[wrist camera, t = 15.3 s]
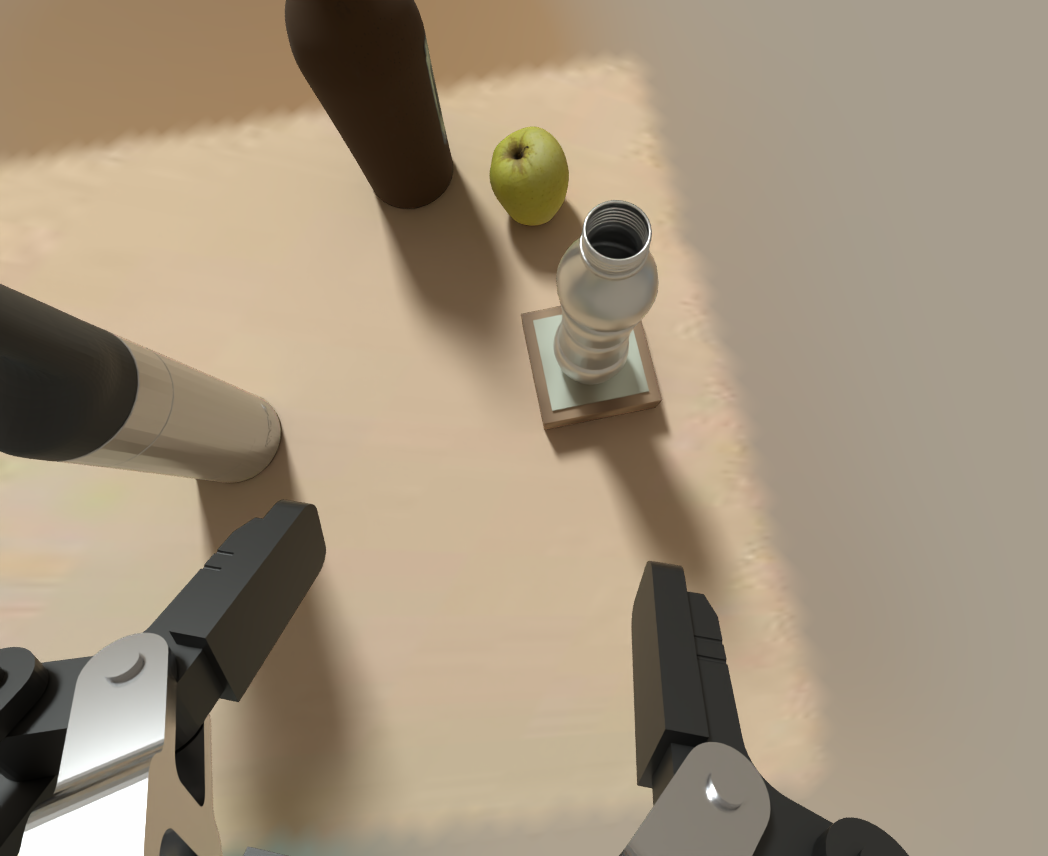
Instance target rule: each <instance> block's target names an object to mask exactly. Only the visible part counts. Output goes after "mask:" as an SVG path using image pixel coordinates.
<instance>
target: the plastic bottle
mask: <svg viewBox="0 0 1048 856" xmlns="http://www.w3.org/2000/svg"><path fill="white" fill-rule="evenodd" d="M651 236H652V230H651V224H650V221H649V219H648V217H647V216H646V214H645V213H644V212H643V211H642V210H641V209H640V208H638V207H637V206H636V205H634V204H632V203H629V202H626V201H621V200H611V201H606V202H603V203H601V204H599V205H597V206H596V207H594V208H593V209H592V210H591V211H590V212H589V214H588V215H587V217H586V219H585V221H584V224H583V231H582V234H581V237H580V238H579V239H577V240H576V241H574V243H573V244H572V245H571V246H570V247H569V248H568V249H567V251H566V252H565V254H564V256H563V257H562V259H561V260H560V263H559V266H558V269H557V276H556V282H557V293H558V297H559V300H560V304H561V308H562V321H561V323H560V325H559V326H558V329H557V331H556V334H555V337H554V343H553V349H554V354H555V358H556V360H557V362H558V364H559V366H560V368H561V369H562V371H563V372H564V373H565V374H566V375H567V376H568V377H570V378H571V379H573V380H574V381H576V382H579V383H582V384H588V385H593V384H600V383H603V382H605V381H608V380H609V379H611V378H612V377H614V376H615V375H616V374H618V373H619V371H620V370H621V369H622V368H623V366H624V364H625V363H626V360H627V357H628V350H629V336H630V333H631V332H632V330H633V328H634V327H635V326H636V325H637V324H638V323H639V322H640V321H641V320H642V319H643V317H644V316H645V315H646V314H647V313H648V311H649V310H650V308H651V307H652V305H653V303H654V301H655V299H656V296H657V293H658V284H659V281H658V273H657V266H656V263H655V261H654V258H653V256H652V255H651V253H650V251H649V245H650V242H651Z"/></svg>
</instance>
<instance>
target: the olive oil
mask: <svg viewBox="0 0 1048 856" xmlns="http://www.w3.org/2000/svg"><path fill="white" fill-rule="evenodd" d="M285 22H286V29H287V34H288V38H289V42H290V46H291V49H292V53H293V55H294V58H295V60H296V63H297V65H298V66H299V68H300V70H301V72H302V74H303V75H304V77H305V79H306V80H307V82H308V83H309V85H310V87H311V88H312V90H313V91H314V93H315V95H316V96H317V98H318V99H319V101H320V102H321V104H322V106H323V107H324V109H325V110H326V112H327V114H328V115H329V117H330V118H331V120H332V122H333V123H334V125H335V127H336V128H337V130H338V131H339V133H340V135H341V136H342V138H343V140H344V141H345V143H346V145H347V146H348V148H349V149H350V151H351V153H352V154H353V156H354V158H355V159H356V161H357V163H358V164H359V166H360V168H361V170H362V171H363V173H364V175H365V176H366V178H367V180H368V182H369V183H370V185H371V187H372V188H373V190H374V192H375V193H376V194H377V195H378V196H379V197H380V198H381V199H382V200H383V201H384V202H386V203H388V204H390V205H392V206H395V207H399V208H417V207H421V206H424V205H426V204H429V203H431V202H432V201H434V200H435V199H437V198H438V197H439V196H440V195H441V194H442V193H443V192H444V191H445V190H446V188H447V187H448V185H449V183H450V180H451V177H452V173H453V162H452V157H451V153H450V148H449V144H448V140H447V135H446V131H445V126H444V122H443V117H442V113H441V108H440V103H439V99H438V94H437V89H436V84H435V80H434V75H433V70H432V65H431V60H430V55H429V51H428V45H427V40H426V35H425V30H424V26H423V22H422V20H421V16H420V13H419V10H418V8H417V6H416V4H415V2H414V0H286V4H285Z"/></svg>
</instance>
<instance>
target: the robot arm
mask: <svg viewBox="0 0 1048 856" xmlns="http://www.w3.org/2000/svg"><path fill="white" fill-rule="evenodd" d="M280 437H281V427H280V423H279V418H278V416H277V414H276V412H275V410H274V409H273V408H272V406H271V405H270V404H269V403H268V402H267V401H265V400H264V399H263V398H261V397H258V396H256V395H254V394H252V393H249V392H247V391H245V390H243V389H240V388H238V387H236V386H234V385H232V384H229V383H227V382H225V381H222V380H220V379H218V378H215V377H213V376H211V375H208V374H206V373H204V372H201V371H199V370H197V369H194V368H192V367H190V366H187V365H185V364H183V363H181V362H178V361H176V360H174V359H171V358H169V357H167V356H164V355H162V354H160V353H157V352H155V351H153V350H150V349H148V348H145V347H143V346H141V345H138V344H136V343H134V342H131V341H129V340H127V339H124V338H122V337H120V336H117V335H115V334H113V333H110V332H108V331H106V330H103V329H101V328H99V327H96V326H94V325H91V324H89V323H87V322H85V321H82V320H80V319H78V318H76V317H73V316H71V315H69V314H67V313H65V312H62V311H60V310H58V309H56V308H54V307H51V306H49V305H47V304H45V303H42V302H40V301H38V300H36V299H33V298H31V297H29V296H27V295H24V294H22V293H20V292H18V291H15V290H13V289H11V288H8V287H6V286H4V285H2V284H0V451H1V452H3V453H6V454H9V455H13V456H17V457H23V458H29V459H38V460H46V461H57V462H65V463H74V464H82V465H90V466H98V467H107V468H115V469H123V470H131V471H139V472H147V473H155V474H163V475H170V476H178V477H186V478H194V479H201V480H209V481H217V482H226V483H236V482H241V481H245V480H247V479H250V478H252V477H254V476H255V475H257V474H258V473H260V472H261V471H262V470H263V469H264V468H266V467H267V466H268V465H269V463H270V462H271V460H272V459H273V457H274V456H275V454H276V451H277V449H278V447H279V442H280ZM325 555H326V546H325V541H324V537H323V533H322V529H321V524H320V520H319V516H318V512H317V508H316V507H315V505H313V504H308V503H301V502H295V501H289V500H280V501H278V502H277V503H276V504H275V505H274V506H273V507H272V509H271V510H270V511H269V512H268V513H267V515H266V516H265V517H264V518H263V519H261V518H254V519H252V520H251V521H249V522H248V523H246V524H245V525H243V526H242V527H240V528H239V529H237V530H235V531H234V532H233V533H232V534H231V535H230V536H229V537H228V538H227V540H226V541H225V542H224V543H223V544H222V545H221V546H220V548H219V549H218V551H217V553H216V554H213V556H212V557H211V558H210V559H209V560H208V561H207V562H206V563H205V565H204V568H203V569H200V570H199V571H198V573H197V574H196V575H195V576H194V577H193V578H192V579H191V580H190V582H189V583H188V584H187V585H186V586H185V587H184V588H183V590H182V591H181V592H180V593H179V594H178V595H177V596H176V597H175V599H174V600H173V601H172V602H171V603H170V604H169V605H168V607H167V608H166V609H165V610H164V611H163V612H162V613H161V614H160V616H159V617H158V618H157V619H156V620H155V621H154V622H153V624H152V625H151V626H150V627H149V628H148V629H147V630H145V631H144V632H143V633H138V634H133V635H129V636H126V637H123V638H121V639H119V640H117V641H115V642H113V643H111V644H109V645H108V646H106V647H104V648H103V649H102V650H100V651H99V652H98V653H97V654H96V655H94V656H91V657H83V658H75V659H67V660H60V661H52V662H44V663H40V661H39V660H38V659H37V658H36V657H35V656H34V655H33V654H32V653H31V652H30V651H29V650H27V649H25V648H20V647H10V648H3V649H0V856H17V855H18V853H19V856H222V847H221V840H220V835H219V831H218V828H217V825H216V821H215V817H214V810H213V784H212V743H211V718H210V714H209V713H210V711H211V710H212V708H213V707H214V705H215V704H216V702H217V701H218V699H219V698H221V699H226V700H231V701H235V702H239V701H240V699H241V698H242V696H243V694H244V693H245V691H246V690H247V688H248V686H249V685H250V683H251V682H252V680H253V678H254V677H255V675H256V674H257V672H258V670H259V669H260V667H261V666H262V664H263V662H264V661H265V659H266V658H267V656H268V654H269V653H270V651H271V650H272V648H273V646H274V645H275V643H276V641H277V640H278V638H279V637H280V635H281V633H282V632H283V630H284V629H285V627H286V625H287V624H288V622H289V621H290V619H291V617H292V616H293V614H294V613H295V611H296V609H297V608H298V606H299V605H300V603H301V601H302V600H303V598H304V597H305V595H306V593H307V592H308V590H309V588H310V587H311V585H312V584H313V582H314V580H315V579H316V577H317V576H318V574H319V572H320V571H321V568H322V566H323V563H324V560H325ZM632 654H633V682H634V710H635V737H636V765H637V785H638V786H643V787H648V788H652V789H653V808H652V809H651V811H650V812H649V814H648V815H647V817H646V818H645V820H644V821H643V822H642V824H641V825H640V827H639V828H638V830H637V831H636V833H635V834H634V836H633V837H632V839H631V840H630V842H629V843H628V845H627V846H626V848H625V849H624V850H623V852H622V853H621V854H620V855H619V856H909V855H908V854H907V853H906V852H905V850H904V849H903V848H902V847H901V846H900V845H899V844H898V843H897V842H896V841H895V840H894V839H893V838H892V837H891V836H890V835H888V834H887V833H886V832H885V831H883V830H882V829H880V828H879V827H877V826H876V825H874V824H871V823H870V822H868V821H865V820H862V819H858V818H843V819H840V820H838V821H837V822H835V823H834V824H833V823H832V822H830V821H828V820H826V819H824V818H822V817H821V816H819V815H817V814H815V813H814V812H812V811H810V810H808V809H806V808H805V807H803V806H801V805H799V804H797V803H796V802H794V801H792V800H790V799H789V798H787V797H785V796H784V795H782V794H781V793H779V792H778V791H777V790H776V789H774V788H773V787H772V786H771V785H770V784H769V783H768V782H767V781H766V780H765V779H764V778H763V777H762V776H761V774H760V773H759V772H758V771H757V769H756V768H755V766H754V765H753V763H752V761H751V759H750V758H749V756H748V753H747V751H746V749H745V746H744V742H743V738H742V733H741V729H740V724H739V719H738V714H737V709H736V704H735V699H734V694H733V689H732V684H731V680H730V675H729V670H728V665H726V655H725V650H724V645H722V635H721V631H720V626H719V621H718V616H717V615H716V613H715V611H714V610H713V608H712V607H711V605H710V603H709V602H708V600H707V599H706V597H705V595H704V594H699V593H693V592H687V588H686V582H685V575H684V571H683V568H682V567H681V566H678V565H672V564H666V563H660V562H654V561H648V562H647V564H646V567H645V570H644V573H643V576H642V579H641V582H640V585H639V588H638V591H637V595H636V598H635V601H634V605H633V612H632ZM243 856H287V855H282V854H278V853H274V852H269V851H265V850H261V849H256V848H252V847H247V849H246V851H245V853H244V855H243Z"/></svg>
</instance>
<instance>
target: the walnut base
mask: <svg viewBox="0 0 1048 856" xmlns="http://www.w3.org/2000/svg"><path fill="white" fill-rule="evenodd" d="M521 317H522V324H523V330H524V334H525V339H526V344H527V349H528V354H529V359H530V363H531V368H532V373H533V378H534V383H535V388H536V392H537V397H538V402H539V407H540V412H541V417H542V421H543V426H544V430H546V429H551V428H556V427H561V426H566V425H571V424H576V423H581V422H586V421H591V420H596V419H601V418H606V417H611V416H616V415H621V414H626V413H630V412H635V411H640V410H645V409H650V408H655V407H656V406H657V405H658V404H659V403H660V402H661V400H662V398H661V394H660V390H659V387H658V383H657V379H656V375H655V371H654V367H653V364H652V360H651V356H650V352H649V348H648V344H647V340H646V337H645V333H644V329H643V325H642V321H640V322H639V323H638V324H637V325H636V326H635V327H634V328H633V330H632V332H631V333H630V336H629V350H628V357H627V360H626V363H625V364H624V366H623V368H622V369H621V370H620V371H619V373H618V374H616V375H615V376H614V377H612V378H611V379H609V380H608V381H605V382H603V383H600V384H593V385H588V384H582V383H579V382H576V381H574V380H573V379H571V378H570V377H568V376H567V375H566V374H565V373H564V372H563V371H562V369H561V368H560V366H559V364H558V362H557V360H556V358H555V354H554V349H553V343H554V337H555V334H556V331H557V329H558V326H559V325H560V323H561V321H562V308H561V306H557V307H553V308H548V309H543V310H538V311H533V312H528V313H524V314H521Z"/></svg>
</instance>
